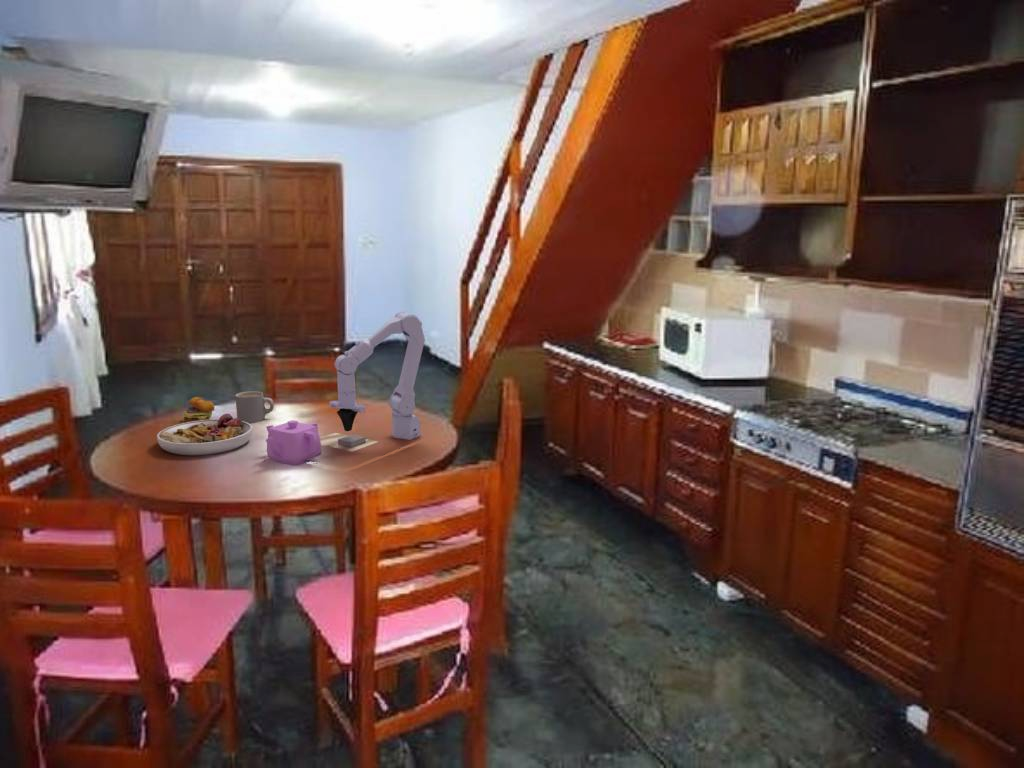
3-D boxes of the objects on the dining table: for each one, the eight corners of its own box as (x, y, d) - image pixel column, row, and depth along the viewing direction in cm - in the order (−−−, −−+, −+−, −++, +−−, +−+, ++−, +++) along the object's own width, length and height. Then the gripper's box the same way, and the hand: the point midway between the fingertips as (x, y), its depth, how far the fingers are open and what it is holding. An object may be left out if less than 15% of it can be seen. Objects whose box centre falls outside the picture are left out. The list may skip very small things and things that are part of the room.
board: (378, 445, 254) (378, 441, 254) (352, 455, 243) (351, 451, 243) (335, 435, 264) (335, 432, 264) (308, 445, 254) (308, 441, 253)
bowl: (221, 461, 237) (219, 437, 235) (138, 455, 243) (135, 431, 241) (269, 435, 266) (268, 414, 264) (194, 430, 271) (192, 409, 270)
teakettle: (322, 464, 235) (320, 426, 232) (265, 468, 230) (263, 430, 227) (321, 448, 251) (319, 412, 248) (268, 452, 246) (265, 416, 243)
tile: (352, 439, 256) (365, 442, 253) (338, 444, 250) (351, 447, 247) (352, 434, 256) (365, 436, 253) (337, 439, 250) (351, 442, 247)
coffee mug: (233, 423, 280) (231, 397, 277) (241, 416, 289) (240, 391, 287) (270, 423, 280) (268, 397, 278) (276, 416, 290) (275, 391, 288)
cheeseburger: (180, 418, 285) (185, 393, 284) (210, 422, 290) (215, 397, 289) (181, 424, 276) (186, 398, 275) (212, 428, 281) (217, 402, 280)
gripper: (322, 390, 249) (323, 429, 252) (354, 396, 241) (356, 436, 244) (337, 386, 255) (338, 425, 258) (369, 392, 247) (370, 431, 250)
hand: (348, 430), depth 251 cm, fingers closed
